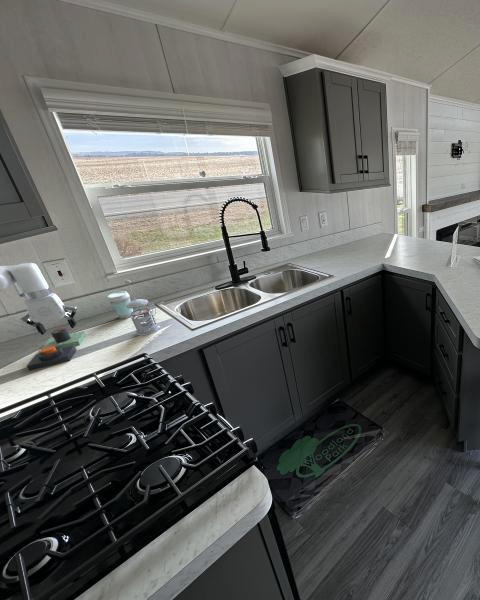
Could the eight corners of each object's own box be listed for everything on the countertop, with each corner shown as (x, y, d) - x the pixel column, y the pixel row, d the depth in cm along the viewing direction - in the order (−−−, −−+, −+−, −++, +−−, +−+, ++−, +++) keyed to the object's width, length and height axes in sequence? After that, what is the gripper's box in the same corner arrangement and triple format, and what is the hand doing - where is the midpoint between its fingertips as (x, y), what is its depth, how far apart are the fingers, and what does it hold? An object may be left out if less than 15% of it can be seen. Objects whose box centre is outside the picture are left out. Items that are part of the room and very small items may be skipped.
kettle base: (29, 370, 125) (23, 362, 123) (38, 358, 132) (33, 350, 130) (70, 360, 130) (65, 352, 128) (76, 350, 137) (72, 341, 135)
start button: (41, 356, 127) (38, 352, 126) (45, 351, 130) (42, 347, 129) (54, 353, 129) (52, 349, 128) (58, 348, 132) (56, 344, 131)
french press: (129, 335, 147) (106, 283, 136) (151, 322, 157) (131, 274, 147) (147, 336, 145) (126, 284, 135) (168, 323, 156) (150, 274, 145)
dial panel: (42, 353, 136) (40, 349, 135) (51, 342, 143) (49, 338, 143) (80, 345, 141) (77, 340, 140) (86, 334, 149) (84, 330, 148)
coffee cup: (140, 313, 166) (131, 292, 161) (122, 321, 159) (112, 299, 154) (131, 310, 170) (122, 289, 165) (112, 318, 163) (102, 296, 158)
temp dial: (54, 343, 138) (48, 334, 136) (58, 338, 142) (52, 329, 140) (68, 340, 140) (63, 330, 138) (72, 335, 144) (67, 326, 142)
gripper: (4, 302, 125) (28, 339, 133) (63, 291, 133) (82, 328, 140) (13, 295, 131) (35, 331, 139) (69, 285, 139) (87, 320, 146)
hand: (59, 329), depth 139 cm, fingers open, 9 cm apart
